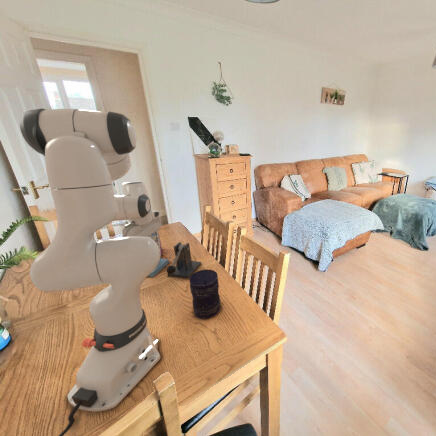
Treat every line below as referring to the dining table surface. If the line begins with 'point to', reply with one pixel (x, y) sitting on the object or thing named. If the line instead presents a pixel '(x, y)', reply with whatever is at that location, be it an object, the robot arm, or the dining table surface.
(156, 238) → the candy bar box
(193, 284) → the storage jar
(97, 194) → the robot arm
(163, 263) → the panel
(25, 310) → the dining table surface
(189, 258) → the switch bracket
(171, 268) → the power lever
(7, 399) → the dining table surface
